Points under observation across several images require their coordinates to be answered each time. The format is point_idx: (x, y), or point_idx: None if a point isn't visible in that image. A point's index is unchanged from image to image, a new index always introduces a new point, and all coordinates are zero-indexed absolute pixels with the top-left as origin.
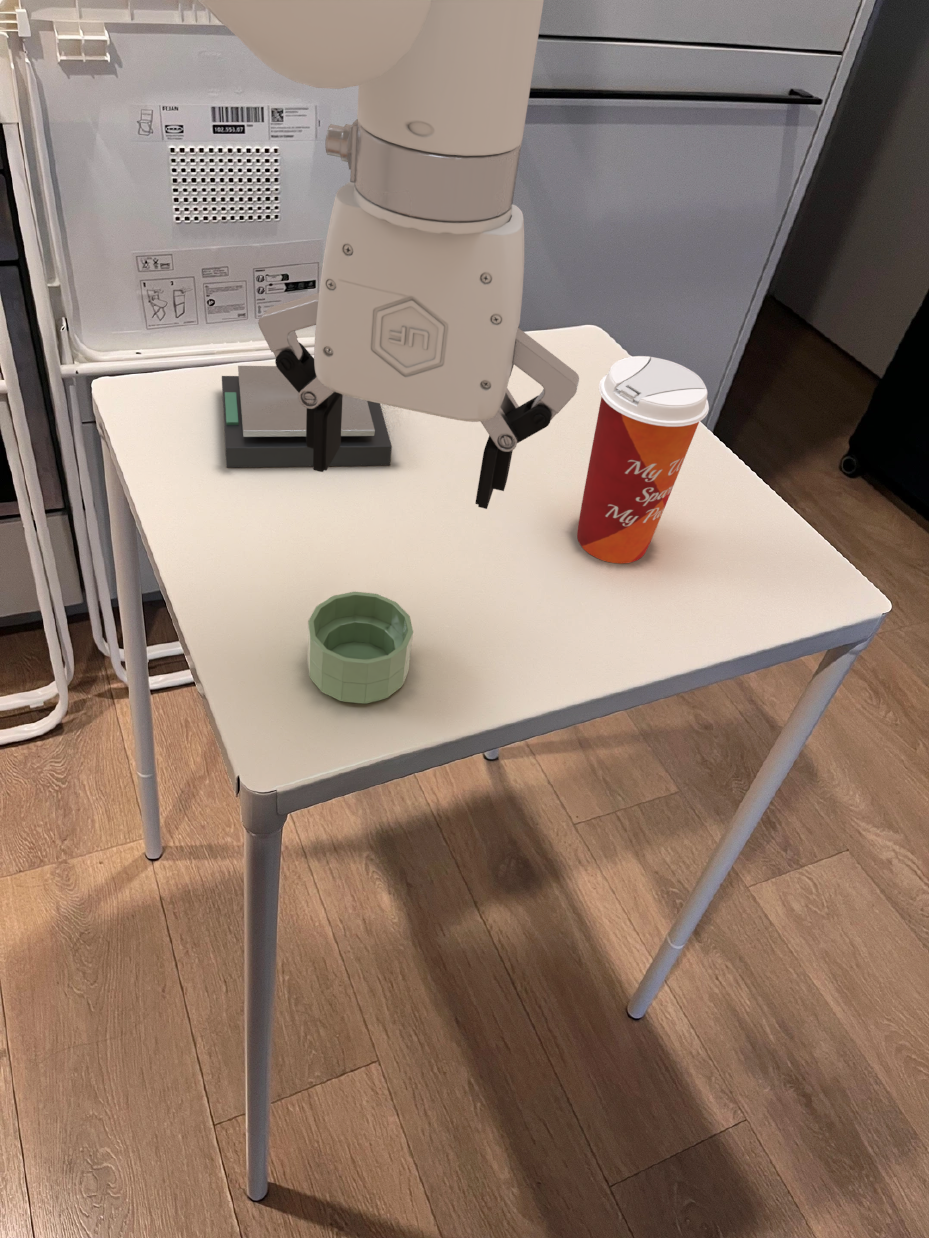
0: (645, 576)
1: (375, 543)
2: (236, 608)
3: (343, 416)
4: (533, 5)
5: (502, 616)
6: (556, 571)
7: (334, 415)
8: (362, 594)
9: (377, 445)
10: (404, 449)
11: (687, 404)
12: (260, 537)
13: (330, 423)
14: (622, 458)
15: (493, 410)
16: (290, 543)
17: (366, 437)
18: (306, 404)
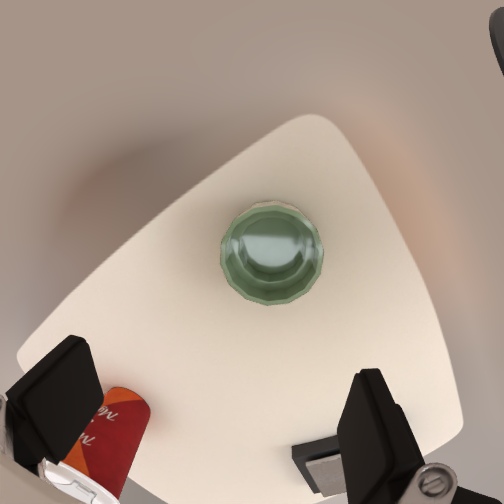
0: (101, 377)
1: (288, 383)
2: (383, 287)
3: (329, 469)
4: None
5: (173, 330)
6: (151, 378)
7: (362, 472)
8: (280, 301)
9: (302, 456)
10: (284, 458)
11: (47, 471)
12: (376, 364)
13: (370, 454)
14: (94, 447)
15: None
16: (353, 365)
17: (311, 460)
18: (434, 469)
